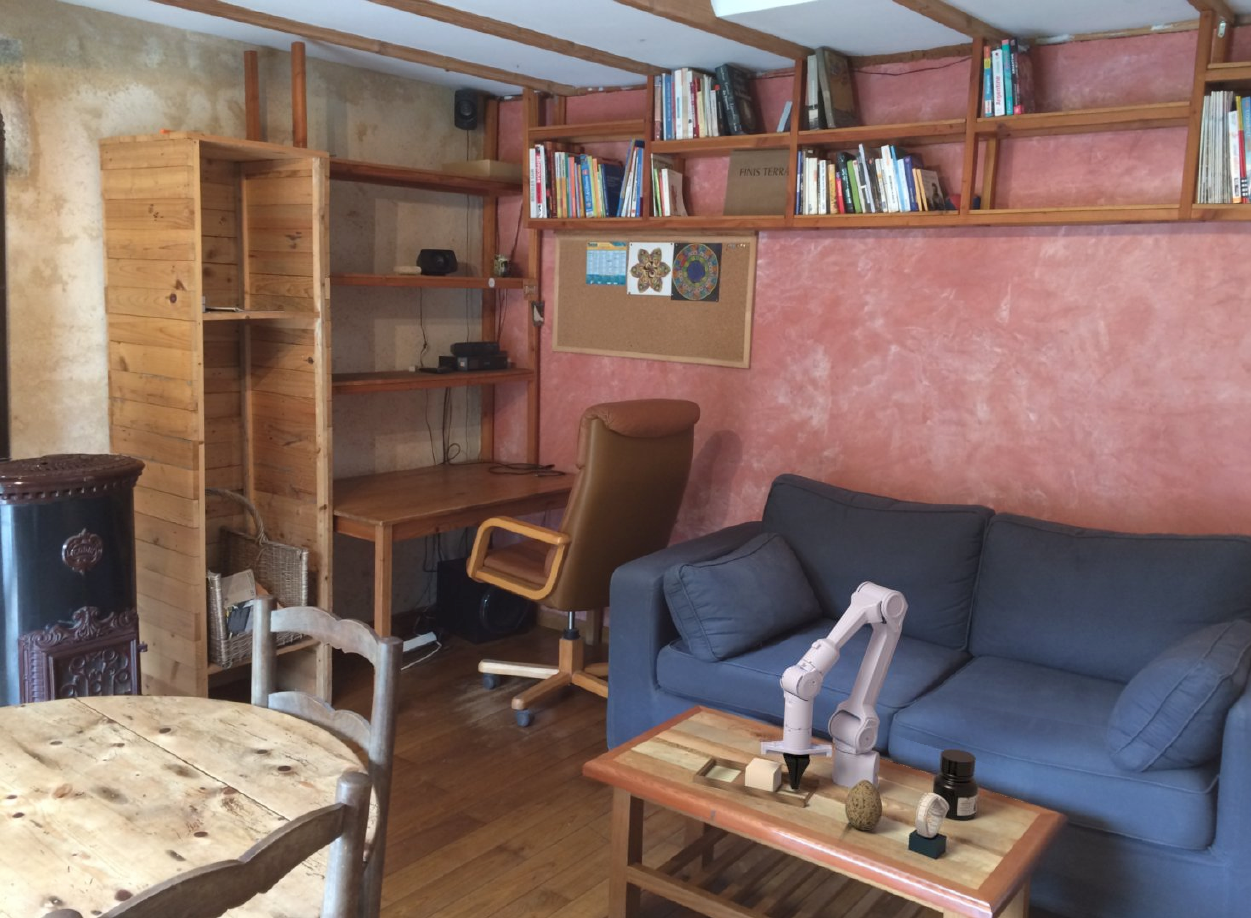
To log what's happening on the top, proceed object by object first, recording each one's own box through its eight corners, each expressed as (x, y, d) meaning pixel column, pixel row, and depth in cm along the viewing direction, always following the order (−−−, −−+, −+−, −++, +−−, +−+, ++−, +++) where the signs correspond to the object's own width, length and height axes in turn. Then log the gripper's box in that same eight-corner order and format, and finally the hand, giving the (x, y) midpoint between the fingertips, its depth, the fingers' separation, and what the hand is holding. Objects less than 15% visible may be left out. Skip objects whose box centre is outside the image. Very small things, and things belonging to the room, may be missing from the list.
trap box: (818, 792, 233) (819, 778, 233) (803, 814, 222) (803, 800, 222) (712, 769, 243) (712, 756, 242) (692, 789, 232) (692, 776, 232)
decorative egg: (888, 829, 217) (891, 781, 216) (866, 840, 212) (869, 791, 211) (858, 816, 222) (861, 769, 221) (836, 826, 217) (839, 778, 216)
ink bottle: (969, 825, 220) (974, 768, 218) (925, 814, 224) (929, 758, 223) (981, 808, 228) (986, 753, 227) (938, 797, 233) (943, 743, 231)
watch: (950, 848, 210) (954, 793, 209) (931, 862, 204) (935, 806, 203) (922, 838, 214) (926, 784, 212) (903, 852, 208) (907, 796, 206)
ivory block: (780, 783, 233) (781, 763, 233) (772, 794, 228) (773, 773, 227) (753, 777, 236) (754, 757, 235) (744, 788, 230) (745, 767, 230)
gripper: (829, 719, 231) (826, 780, 233) (760, 716, 231) (757, 777, 233) (835, 731, 224) (831, 795, 226) (764, 728, 224) (760, 792, 226)
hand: (794, 787), depth 229 cm, fingers closed
